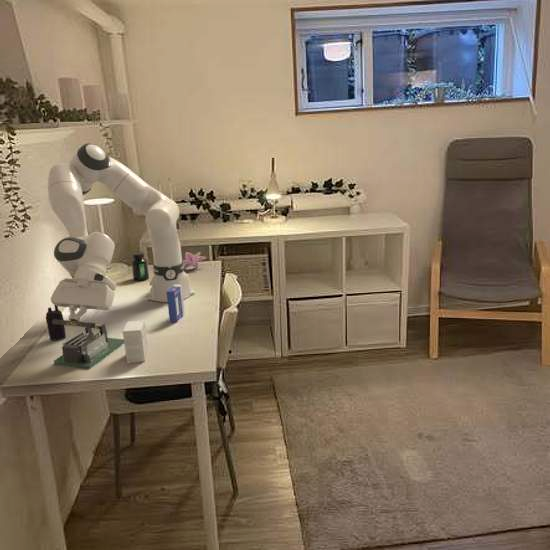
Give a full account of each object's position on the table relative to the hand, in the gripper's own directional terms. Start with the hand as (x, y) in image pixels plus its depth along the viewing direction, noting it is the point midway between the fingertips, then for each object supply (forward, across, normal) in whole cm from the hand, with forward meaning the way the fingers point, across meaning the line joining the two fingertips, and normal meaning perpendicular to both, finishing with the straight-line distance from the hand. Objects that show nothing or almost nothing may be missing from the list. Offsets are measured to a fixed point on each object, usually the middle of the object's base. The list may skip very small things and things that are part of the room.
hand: (73, 320), depth 171 cm
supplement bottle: (-45, -26, +65) cm, 83 cm away
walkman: (-17, +14, +36) cm, 43 cm away
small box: (+5, +17, +14) cm, 22 cm away
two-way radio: (+1, -18, +18) cm, 26 cm away
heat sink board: (+6, 0, +13) cm, 14 cm away
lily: (-57, -8, +77) cm, 96 cm away
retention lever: (-2, 0, +11) cm, 11 cm away
